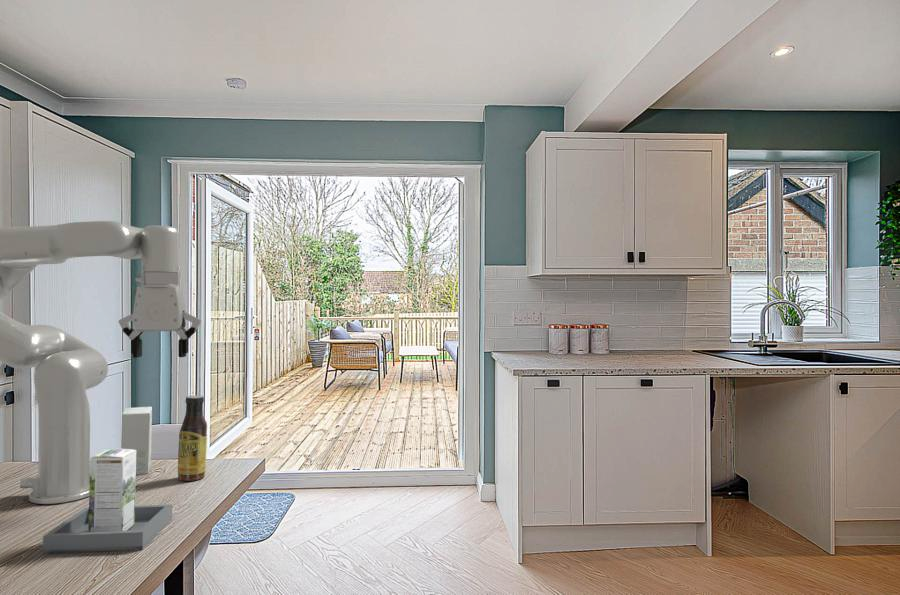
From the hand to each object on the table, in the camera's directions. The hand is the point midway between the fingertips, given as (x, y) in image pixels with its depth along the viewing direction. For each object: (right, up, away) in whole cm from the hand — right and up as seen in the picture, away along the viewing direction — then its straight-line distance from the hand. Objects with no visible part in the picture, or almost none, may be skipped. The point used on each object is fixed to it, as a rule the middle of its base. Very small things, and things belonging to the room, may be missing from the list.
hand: (160, 357), depth 132 cm
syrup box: (+4, -30, -25) cm, 39 cm away
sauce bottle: (+3, -31, +10) cm, 32 cm away
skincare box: (-14, -31, +16) cm, 37 cm away
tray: (+4, -30, -25) cm, 39 cm away
